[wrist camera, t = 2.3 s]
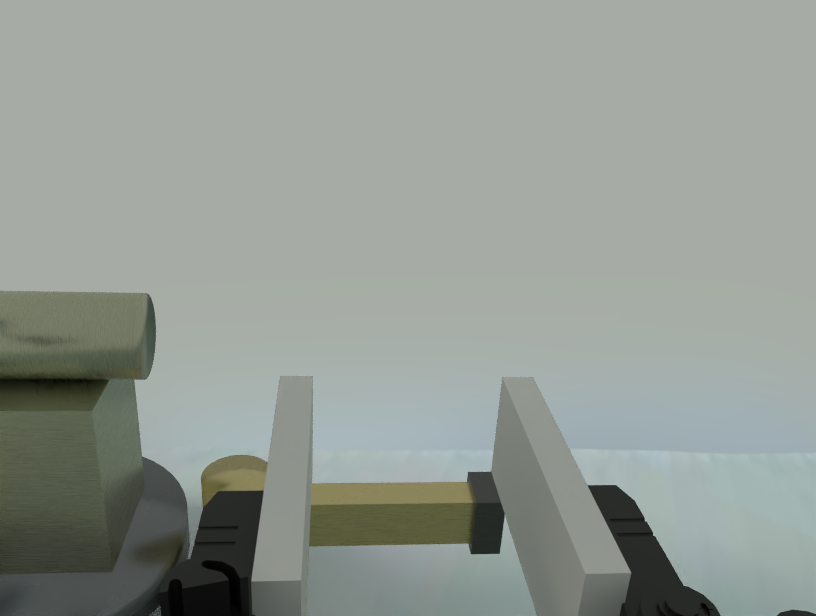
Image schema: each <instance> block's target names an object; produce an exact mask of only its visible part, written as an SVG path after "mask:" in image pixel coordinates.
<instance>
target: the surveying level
mask: <svg viewBox="0 0 816 616" xmlns="http://www.w3.org/2000/svg"><path fill="white" fill-rule="evenodd" d="M155 342H156V324H155V312H154V307H153V303H152V299H151V297H150V296H149V294H147V293H105V292H104V293H103V292H102V293H101V292H99V293H98V292H42V291H41V292H40V291H0V616H149V615H150V614H151V613H152V612H153V611H154V610H155V609H156V608H157V607H158V606H159V605H160V596H159V592H160V587H161V583H162V580H163V579H164V578H165V576H166V575H167V574H168V573H169V571H170V570H171V569H172V568H174V567H176V566H177V565H179V564H180V563H182V562H183V561H185V560H187V559H188V554H189V547H190V543H189V526H188V513H187V502H186V498H185V494H184V491H183V489H182V488H181V486H180V484H179V482H178V481H177V480H176V479H175V477H174V476H173V475H172V474H171V473H170V472H168V471H167V470H166V469H165V468H164V467H162V466H160V465H159V464H157V463H155V462H154V461H151V460H149V459H147V458H144V457H142V452H141V442H140V433H139V423H138V413H137V403H136V393H135V383H134V380H145V379H147V377H148V376H149V374H150V371H151V368H152V365H153V360H154V353H155Z"/></svg>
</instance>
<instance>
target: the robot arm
mask: <svg viewBox="0 0 816 616" xmlns="http://www.w3.org/2000/svg"><path fill="white" fill-rule="evenodd" d="M312 419H313V377H312V376H280V380H279V387H278V394H277V402H276V409H275V415H274V423H273V430H272V438H271V444H270V451H269V458H268V465H267V472H266V479H265V487H264V490H262V491H218V492H217V493H216V494H215V495H214V496H213V497H212V498H211V500H210V501H209V502H208V503H207V504H206V505H205V506H204V508H203V511H202V515H201V519H200V523H199V528H198V531H197V535H196V539H195V545H194V547H193V551H192V555H191V559H188V560H185V561H183V562H182V563H180V564H179V565H177V566H176V567H174V568H172V569H171V570H170V571H169V573H168V574H167V575H166V576H165V578H164V579H163V580H162V583H161V587H160V592H159V596H160V606H161V616H306V598H307V577H308V556H309V534H310V513H311V491H312V434H313V426H312V425H313V423H312V421H313V420H312ZM491 472H492V476H493V479H494V482H495V485H496V488H497V491H498V494H499V498H500V501H501V504H502V507H503V510H504V513H505V516H506V519H507V523H508V526H509V529H510V532H511V535H512V538H513V541H514V544H515V548H516V551H517V554H518V557H519V560H520V563H521V566H522V570H523V573H524V576H525V579H526V582H527V585H528V588H529V591H530V595H531V598H532V601H533V604H534V607H535V610H536V613H537V616H720V614H719V612H718V610H717V609H716V607H715V605H714V604H713V603H712V602H710V601H709V600H708V599H707V598H706V597H705V596H704V595H702V594H701V593H699V592H697V591H695V590H693V589H691V588H689V587H686V586H683V584H682V582H681V580H680V579H679V577H678V575H677V573H676V572H675V570H674V568H673V567H672V565H671V563H670V561H669V560H668V558H667V556H666V554H665V553H664V551H663V549H662V548H661V546H660V544H659V542H658V541H657V539H656V537H655V536H653V532H652V530H651V528H650V527H649V525H648V523H647V522H645V518H644V516H643V515H642V513H641V511H640V509H639V508H638V506H637V504H636V503H635V501H634V500H633V499H632V498H631V497H629V496H628V495H627V494H626V493H625V492H623V491H622V490H621V489H620V488H619V487H617V486H616V485H587V484H586V482H585V480H584V478H583V476H582V474H581V472H580V470H579V468H578V466H577V464H576V462H575V460H574V458H573V456H572V454H571V452H570V450H569V448H568V446H567V444H566V442H565V440H564V438H563V436H562V434H561V432H560V430H559V428H558V426H557V424H556V422H555V420H554V418H553V417H552V414H551V412H550V410H549V408H548V406H547V404H546V402H545V400H544V398H543V396H542V394H541V392H540V390H539V388H538V386H537V384H536V382H535V380H534V378H533V377H528V378H527V377H502V384H501V393H500V402H499V410H498V419H497V427H496V436H495V444H494V453H493V461H492V470H491ZM777 616H816V614H814V613H811V612H808V611H799V610H790V611H785V612H781V613H779V614H778V615H777Z"/></svg>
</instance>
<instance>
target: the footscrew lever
mask: <svg viewBox="0 0 816 616" xmlns="http://www.w3.org/2000/svg"><path fill="white" fill-rule="evenodd" d="M267 465H268V463H267V462H266V461H264V460H262V459H260V458H258V457H254V456H248V455H234V456H228V457H224V458H221V459H219V460H216V461H215V462H213V463H211V464H210V465H208V466H207V467H206V468H205V470H204V471H203V473H202V475H201V486H202V501H203V508H204V506H205V505H206V504H207V503H208V502H209V501H210V500H211V498H212V497H213V496H214V495H215V494H216V493H217V492H218V491H262V490H264V487H265V479H266V472H267ZM504 516H505V513H504V510H503V507H502V504H501V501H500V498H499V494H498V491H497V488H496V485H495V482H494V479H493V476H492V472H468V478H467V482H428V483H323V484H312V491H311V513H310V534H309V546H358V545H413V544H469V548H470V552H471V554H500V547H501V539H502V531H503V523H504Z"/></svg>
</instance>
